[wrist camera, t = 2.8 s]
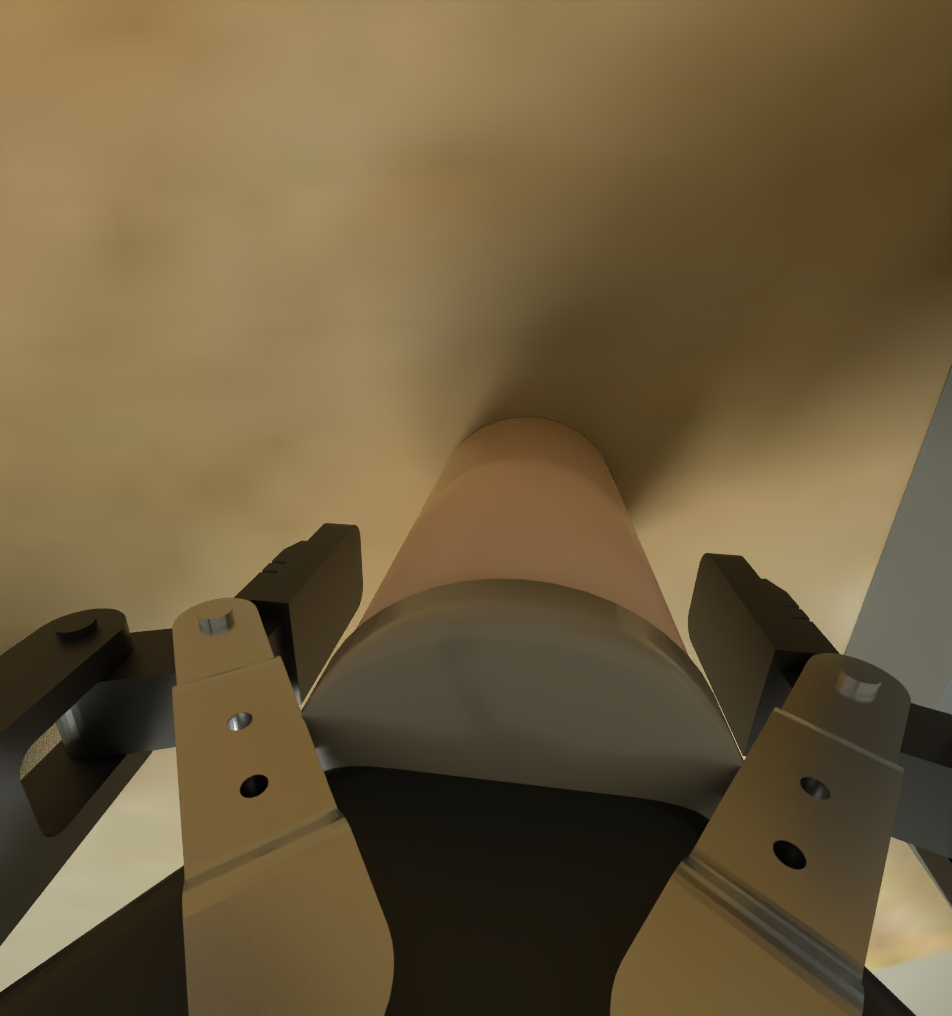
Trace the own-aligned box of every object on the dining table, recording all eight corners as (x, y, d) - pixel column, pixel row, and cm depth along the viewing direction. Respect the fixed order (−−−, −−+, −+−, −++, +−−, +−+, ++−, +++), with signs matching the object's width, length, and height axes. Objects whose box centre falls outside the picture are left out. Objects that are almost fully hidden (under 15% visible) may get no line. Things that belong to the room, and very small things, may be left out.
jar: (435, 408, 15) (241, 616, 5) (631, 419, 14) (831, 671, 5) (435, 576, 17) (298, 949, 7) (606, 591, 17) (707, 1011, 7)
